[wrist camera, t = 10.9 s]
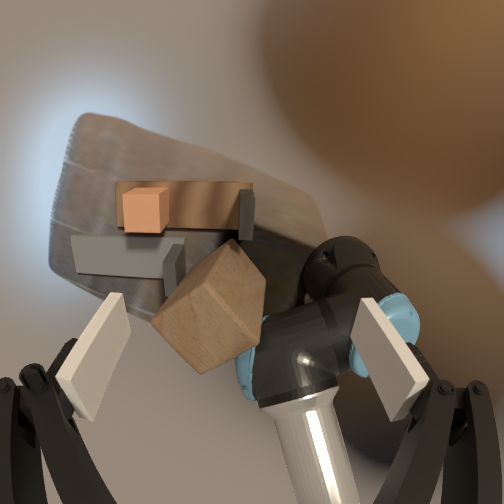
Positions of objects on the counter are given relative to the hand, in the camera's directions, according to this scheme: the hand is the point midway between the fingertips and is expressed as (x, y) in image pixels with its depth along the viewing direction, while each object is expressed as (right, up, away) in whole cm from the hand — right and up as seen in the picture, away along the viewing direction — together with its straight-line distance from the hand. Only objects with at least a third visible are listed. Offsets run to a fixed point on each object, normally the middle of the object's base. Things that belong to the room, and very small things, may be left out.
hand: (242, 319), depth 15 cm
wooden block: (-4, 0, +37) cm, 37 cm away
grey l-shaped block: (-24, +3, +35) cm, 42 cm away
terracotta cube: (-17, +12, +31) cm, 37 cm away
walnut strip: (-12, +12, +32) cm, 36 cm away
